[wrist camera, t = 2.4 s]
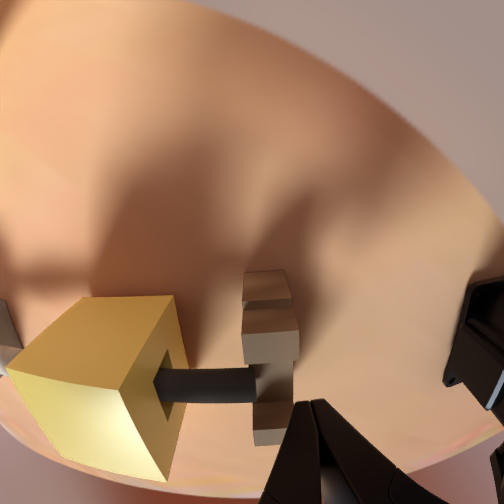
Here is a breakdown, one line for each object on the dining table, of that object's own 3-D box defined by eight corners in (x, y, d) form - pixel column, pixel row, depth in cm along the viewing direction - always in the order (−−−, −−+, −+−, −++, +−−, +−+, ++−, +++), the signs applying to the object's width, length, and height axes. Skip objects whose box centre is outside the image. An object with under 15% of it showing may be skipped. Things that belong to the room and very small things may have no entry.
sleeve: (173, 295, 11) (118, 390, 6) (192, 381, 12) (167, 482, 7) (82, 297, 11) (4, 367, 6) (109, 376, 12) (62, 457, 7)
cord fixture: (283, 269, 11) (301, 328, 7) (286, 381, 13) (297, 455, 8) (-19, 284, 11) (-65, 311, 7) (10, 361, 13) (-25, 397, 9)
